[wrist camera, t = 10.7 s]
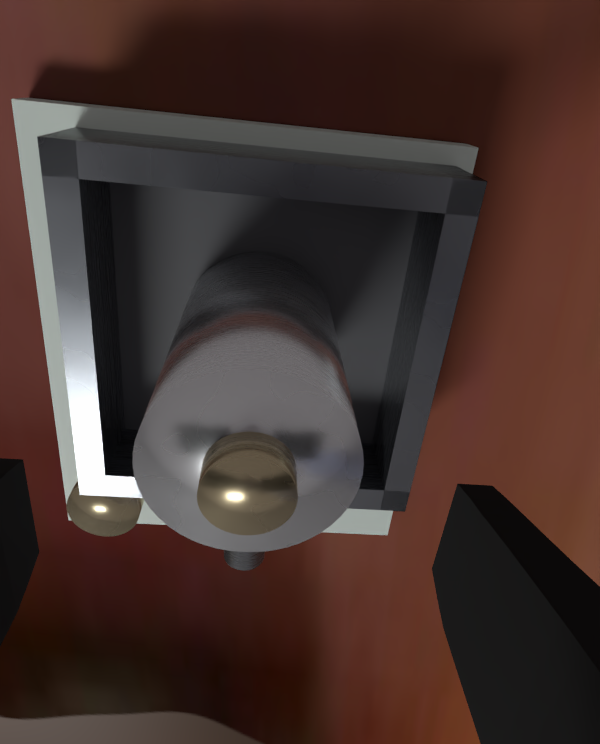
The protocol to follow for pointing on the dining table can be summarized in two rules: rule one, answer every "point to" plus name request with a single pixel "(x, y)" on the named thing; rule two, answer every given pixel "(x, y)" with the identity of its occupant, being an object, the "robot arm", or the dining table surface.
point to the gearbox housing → (221, 240)
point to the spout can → (251, 414)
